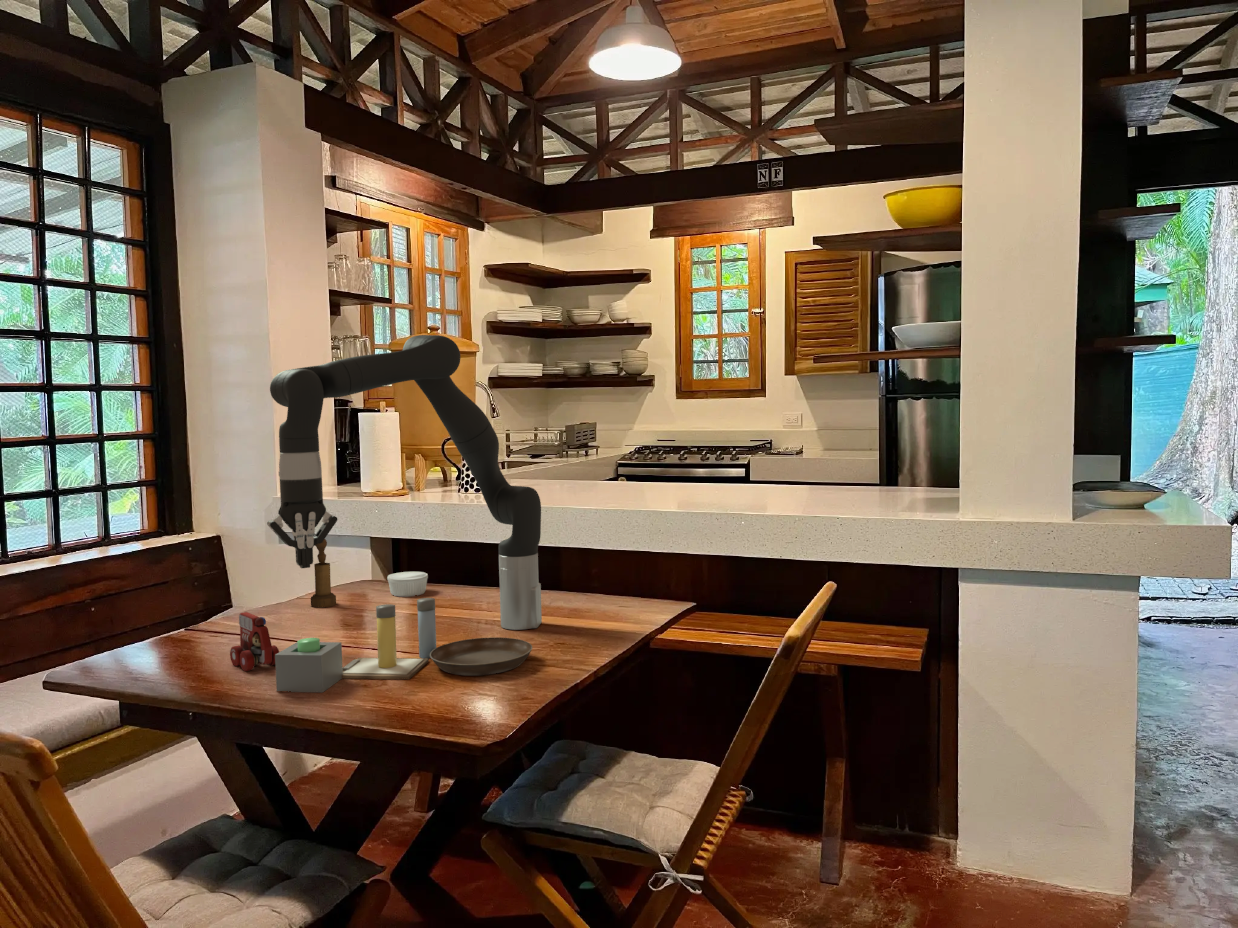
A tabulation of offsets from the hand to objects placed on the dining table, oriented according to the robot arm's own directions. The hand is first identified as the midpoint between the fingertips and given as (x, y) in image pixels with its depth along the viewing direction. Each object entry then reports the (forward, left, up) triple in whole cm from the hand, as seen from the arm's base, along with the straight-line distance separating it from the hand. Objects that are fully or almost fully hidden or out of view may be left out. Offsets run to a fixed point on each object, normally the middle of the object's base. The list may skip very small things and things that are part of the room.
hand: (305, 567), depth 171 cm
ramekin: (+10, -81, -23) cm, 85 cm away
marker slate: (-16, -20, -23) cm, 34 cm away
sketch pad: (-10, -10, -23) cm, 27 cm away
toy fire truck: (+18, -12, -23) cm, 31 cm away
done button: (0, 0, -18) cm, 18 cm away
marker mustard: (-11, -10, -22) cm, 27 cm away
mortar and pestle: (+28, -66, -23) cm, 75 cm away
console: (0, 0, -23) cm, 23 cm away
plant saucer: (-29, -15, -23) cm, 40 cm away
